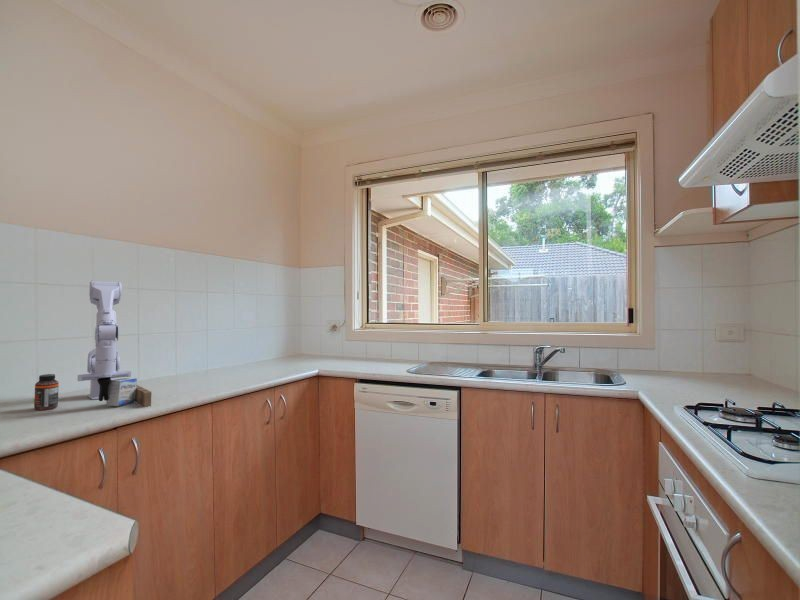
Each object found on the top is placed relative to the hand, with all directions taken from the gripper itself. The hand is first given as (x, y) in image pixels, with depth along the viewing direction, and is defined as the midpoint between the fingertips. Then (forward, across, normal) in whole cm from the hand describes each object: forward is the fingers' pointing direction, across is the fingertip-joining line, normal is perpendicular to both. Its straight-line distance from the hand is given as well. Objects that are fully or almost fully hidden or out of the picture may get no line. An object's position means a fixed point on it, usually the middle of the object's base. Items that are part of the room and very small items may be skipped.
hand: (104, 400), depth 134 cm
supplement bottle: (+3, -14, +12) cm, 18 cm away
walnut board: (+2, +10, +1) cm, 11 cm away
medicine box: (+2, +5, +1) cm, 5 cm away
